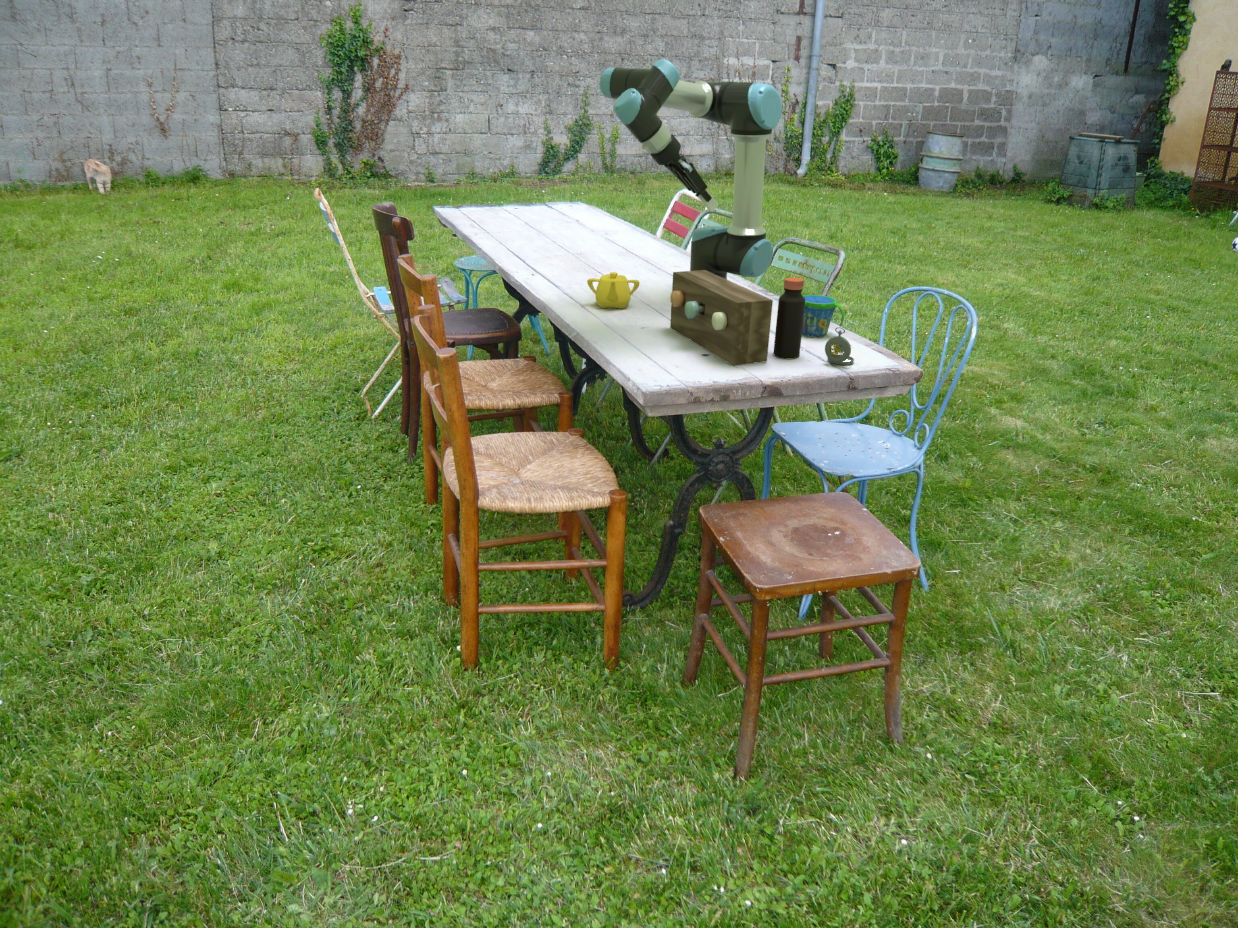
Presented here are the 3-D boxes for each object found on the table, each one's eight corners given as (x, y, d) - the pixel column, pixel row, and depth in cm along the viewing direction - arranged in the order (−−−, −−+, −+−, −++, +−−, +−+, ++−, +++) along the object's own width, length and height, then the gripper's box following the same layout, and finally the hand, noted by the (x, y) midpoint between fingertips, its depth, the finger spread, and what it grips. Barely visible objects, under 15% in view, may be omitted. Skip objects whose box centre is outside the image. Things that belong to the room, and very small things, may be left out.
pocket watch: (849, 358, 240) (854, 321, 236) (858, 368, 233) (863, 330, 228) (818, 357, 240) (823, 320, 236) (826, 367, 232) (831, 329, 228)
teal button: (691, 320, 240) (692, 304, 239) (684, 316, 244) (685, 300, 242) (710, 318, 242) (711, 302, 241) (702, 314, 246) (703, 298, 244)
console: (732, 365, 232) (737, 302, 225) (670, 328, 262) (673, 272, 255) (766, 361, 236) (772, 300, 229) (701, 325, 266) (705, 270, 259)
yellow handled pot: (644, 308, 282) (645, 274, 278) (612, 314, 274) (612, 279, 270) (615, 299, 292) (615, 266, 288) (583, 304, 284) (583, 271, 280)
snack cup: (845, 334, 261) (850, 299, 257) (834, 343, 253) (839, 306, 249) (793, 325, 268) (797, 291, 264) (780, 334, 260) (784, 298, 255)
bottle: (781, 350, 245) (789, 275, 237) (804, 355, 242) (812, 279, 233) (768, 355, 241) (775, 279, 232) (791, 360, 237) (799, 283, 229)
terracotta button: (677, 308, 251) (677, 293, 249) (670, 305, 255) (670, 289, 253) (695, 307, 253) (696, 291, 251) (687, 303, 257) (688, 288, 255)
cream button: (719, 332, 231) (720, 315, 229) (711, 327, 235) (712, 310, 233) (738, 330, 233) (740, 313, 231) (730, 325, 237) (731, 309, 235)
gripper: (640, 152, 240) (693, 214, 253) (662, 158, 229) (716, 222, 242) (659, 130, 239) (712, 194, 253) (682, 135, 229) (735, 201, 242)
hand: (714, 208), depth 247 cm, fingers closed
